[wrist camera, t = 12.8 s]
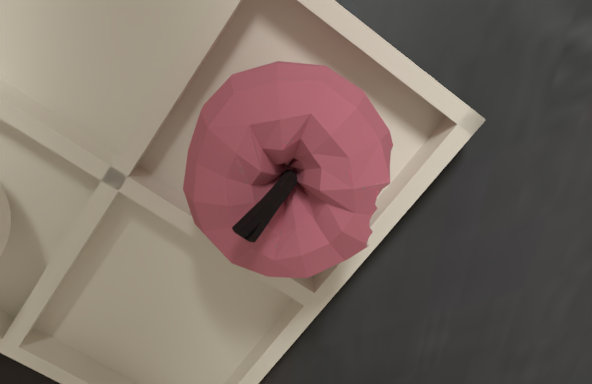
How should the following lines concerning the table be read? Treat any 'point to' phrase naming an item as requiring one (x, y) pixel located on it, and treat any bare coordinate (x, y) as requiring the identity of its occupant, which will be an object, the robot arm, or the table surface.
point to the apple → (287, 169)
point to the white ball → (4, 219)
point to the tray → (170, 181)
